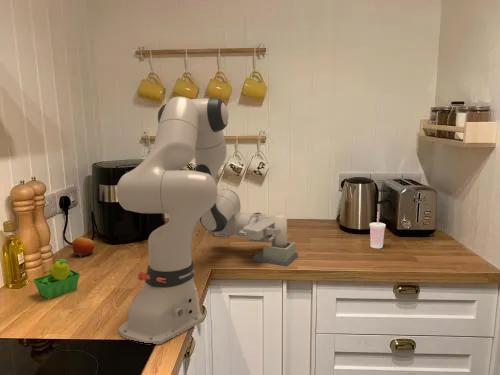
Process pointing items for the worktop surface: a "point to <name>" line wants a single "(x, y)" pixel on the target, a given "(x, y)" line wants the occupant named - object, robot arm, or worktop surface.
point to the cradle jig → (277, 254)
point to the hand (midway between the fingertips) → (283, 229)
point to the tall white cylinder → (282, 225)
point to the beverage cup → (377, 233)
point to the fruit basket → (57, 280)
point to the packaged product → (266, 238)
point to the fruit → (83, 246)
